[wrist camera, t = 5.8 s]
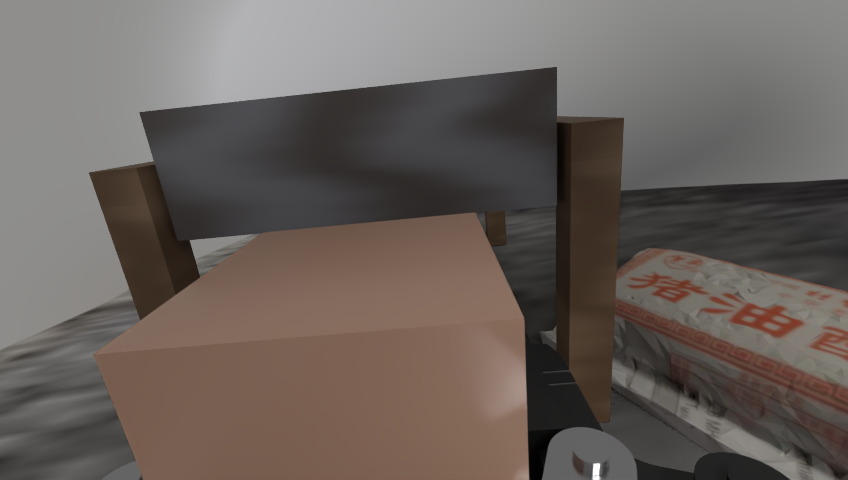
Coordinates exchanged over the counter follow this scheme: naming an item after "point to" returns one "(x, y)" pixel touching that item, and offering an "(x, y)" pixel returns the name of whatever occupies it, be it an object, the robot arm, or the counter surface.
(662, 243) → the counter surface
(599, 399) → the wooden legged stool
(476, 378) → the block
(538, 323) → the counter surface
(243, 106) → the trapdoor
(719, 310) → the packaged product
